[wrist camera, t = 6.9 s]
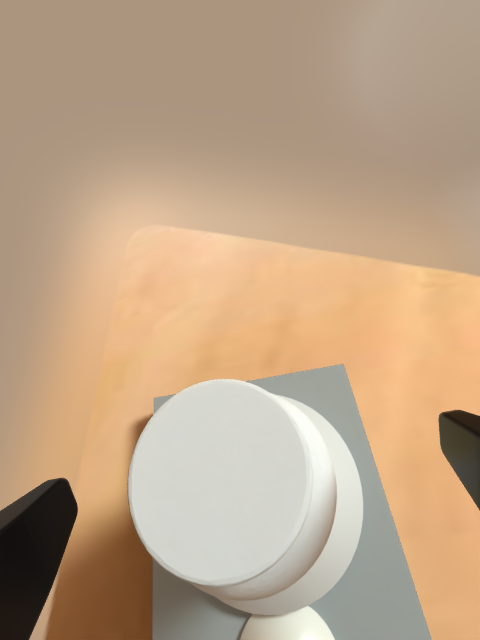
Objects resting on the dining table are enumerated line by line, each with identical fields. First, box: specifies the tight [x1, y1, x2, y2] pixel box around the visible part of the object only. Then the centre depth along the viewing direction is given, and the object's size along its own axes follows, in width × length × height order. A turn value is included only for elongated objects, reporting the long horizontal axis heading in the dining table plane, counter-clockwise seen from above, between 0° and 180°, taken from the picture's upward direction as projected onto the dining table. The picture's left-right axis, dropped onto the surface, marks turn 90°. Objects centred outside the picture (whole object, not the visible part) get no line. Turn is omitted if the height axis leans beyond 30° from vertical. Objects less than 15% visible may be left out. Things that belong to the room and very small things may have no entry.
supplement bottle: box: [128, 379, 337, 601], centre depth 11 cm, size 5×5×10 cm
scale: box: [152, 364, 432, 640], centre depth 16 cm, size 14×11×3 cm
